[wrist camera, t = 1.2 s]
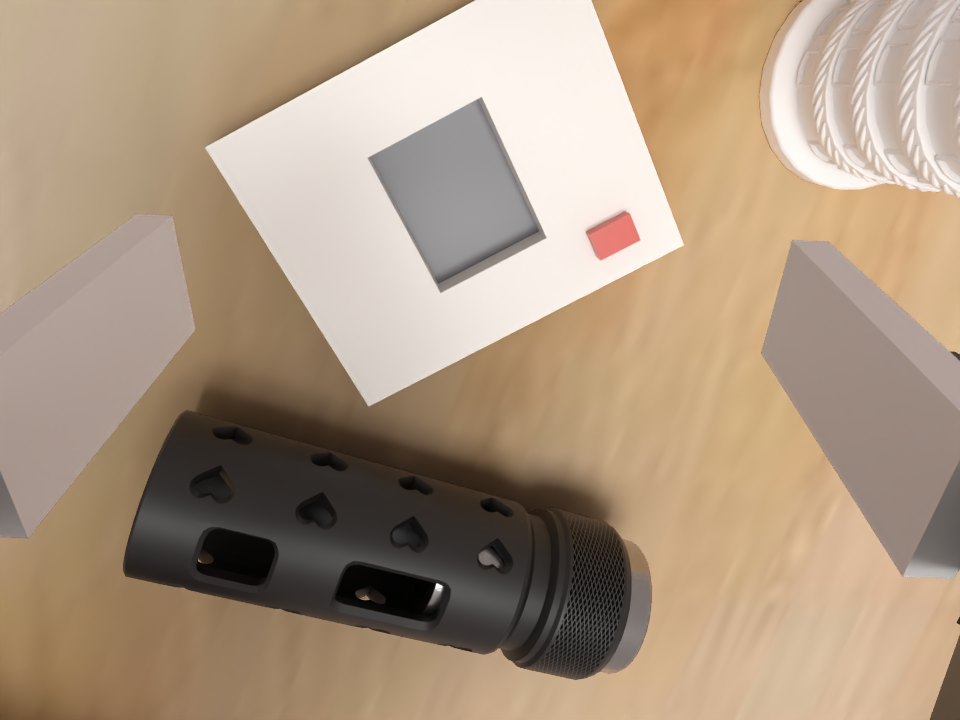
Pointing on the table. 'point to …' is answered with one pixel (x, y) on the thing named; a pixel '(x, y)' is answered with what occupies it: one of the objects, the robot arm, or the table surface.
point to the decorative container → (866, 93)
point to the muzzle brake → (386, 551)
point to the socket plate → (453, 187)
